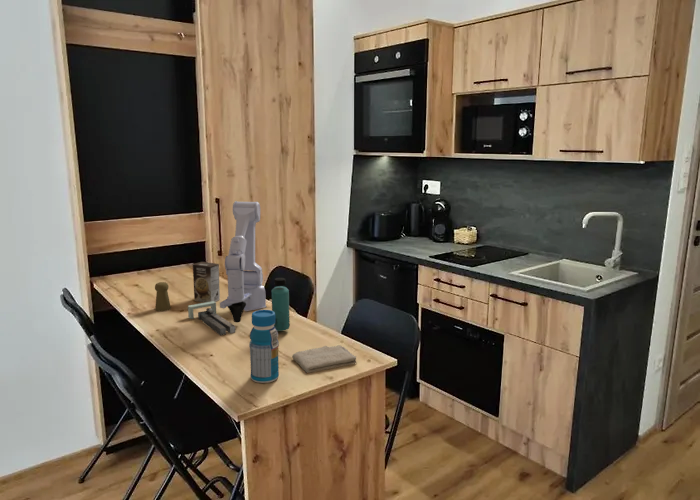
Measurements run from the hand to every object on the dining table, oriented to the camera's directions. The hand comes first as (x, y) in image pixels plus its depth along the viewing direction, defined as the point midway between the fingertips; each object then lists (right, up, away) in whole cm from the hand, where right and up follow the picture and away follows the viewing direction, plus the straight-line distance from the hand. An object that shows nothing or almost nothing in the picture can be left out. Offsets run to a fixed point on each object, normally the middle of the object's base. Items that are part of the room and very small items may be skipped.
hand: (237, 321), depth 198 cm
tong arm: (-7, -1, +1) cm, 7 cm away
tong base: (-8, -1, 0) cm, 8 cm away
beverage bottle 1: (+17, -11, -42) cm, 47 cm away
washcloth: (+34, -9, -30) cm, 46 cm away
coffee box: (-19, +5, +29) cm, 35 cm away
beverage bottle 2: (+17, -3, -6) cm, 18 cm away
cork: (-34, +3, +17) cm, 38 cm away
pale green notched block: (-16, +1, +10) cm, 18 cm away
